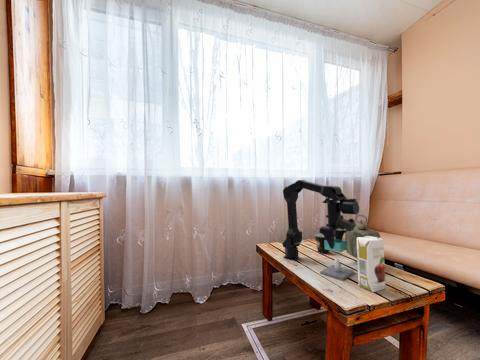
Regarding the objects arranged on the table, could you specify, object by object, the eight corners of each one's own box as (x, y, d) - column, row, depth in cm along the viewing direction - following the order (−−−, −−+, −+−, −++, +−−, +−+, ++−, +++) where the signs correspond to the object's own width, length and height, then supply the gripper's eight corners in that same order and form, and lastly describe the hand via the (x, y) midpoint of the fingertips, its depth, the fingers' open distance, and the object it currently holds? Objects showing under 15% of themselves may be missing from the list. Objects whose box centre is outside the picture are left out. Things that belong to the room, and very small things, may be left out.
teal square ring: (324, 249, 98) (324, 240, 98) (331, 246, 103) (331, 238, 103) (340, 252, 93) (340, 243, 93) (347, 249, 98) (346, 240, 98)
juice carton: (355, 285, 84) (353, 237, 85) (369, 281, 87) (367, 234, 88) (373, 294, 77) (371, 241, 78) (388, 289, 80) (386, 238, 81)
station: (320, 273, 96) (320, 260, 96) (332, 267, 104) (332, 254, 104) (342, 280, 88) (342, 266, 89) (354, 272, 96) (354, 259, 96)
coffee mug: (332, 254, 123) (332, 237, 123) (317, 254, 125) (316, 236, 125) (328, 249, 134) (328, 233, 135) (314, 248, 136) (313, 232, 137)
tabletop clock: (382, 269, 100) (380, 216, 101) (367, 271, 98) (364, 217, 99) (358, 259, 114) (356, 213, 115) (344, 261, 112) (342, 213, 113)
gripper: (343, 216, 87) (345, 254, 86) (360, 212, 99) (362, 246, 98) (317, 214, 95) (319, 249, 94) (336, 211, 107) (337, 242, 107)
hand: (335, 247), depth 98 cm, fingers closed on teal square ring, 7 cm apart
